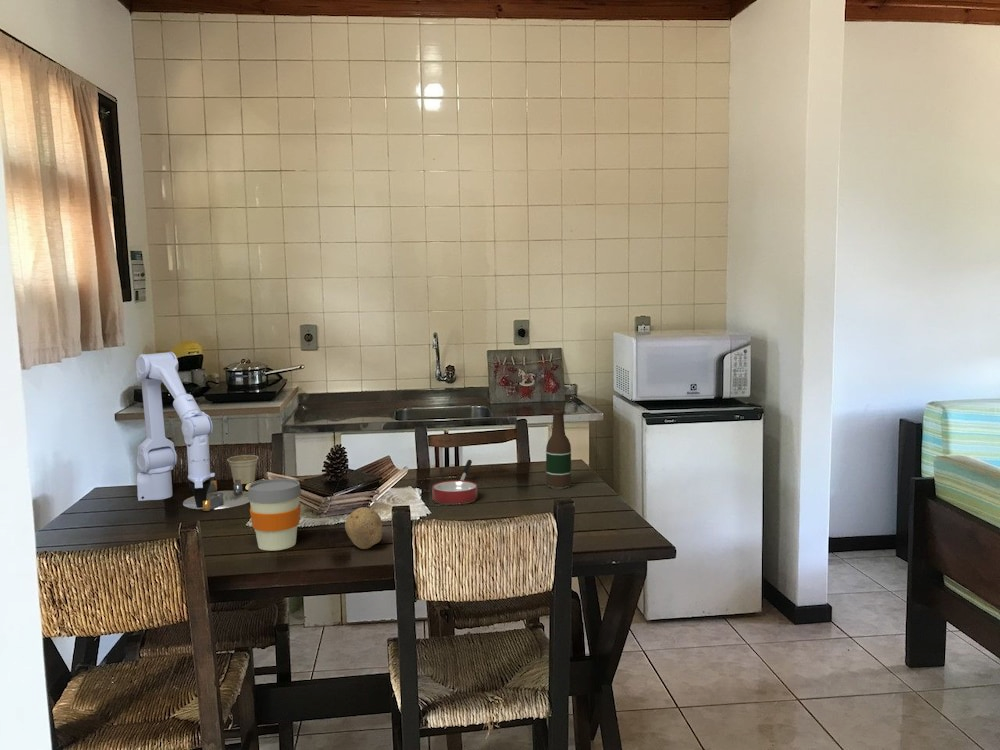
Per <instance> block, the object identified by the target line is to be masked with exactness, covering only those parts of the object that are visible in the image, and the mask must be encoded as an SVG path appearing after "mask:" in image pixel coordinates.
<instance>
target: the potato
mask: <svg viewBox="0 0 1000 750" xmlns="http://www.w3.org/2000/svg"><path fill="white" fill-rule="evenodd" d="M344 529H345V532H346V534H347V536H348V538H349V539H350V541H351V542H352V544H354V546H356V547H357V548H359V549H360V550H368V549H371V548H372V547H373V546H374V545H376V544H378V543H379V542H381V539H382V537H383V522H382V518H381V516H380V514H378V512H376V511H375V510H374V509H371V508H369V507H366V506H364V507H363V506H362V507H361V506H360V507H358V508H356V509H354V510H353V511H352V512H351V513H350V514H349V515H347V518H346V520H345V523H344Z"/></svg>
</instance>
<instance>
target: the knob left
mask: <svg viewBox="0 0 1000 750" xmlns="http://www.w3.org/2000/svg"><path fill="white" fill-rule="evenodd" d="M217 482H218V481H217V480H211V484H210V486H209V488H208V491H207V495H208V494H210V493H212V492H217V491H218V483H217Z"/></svg>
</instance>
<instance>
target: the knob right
mask: <svg viewBox="0 0 1000 750" xmlns="http://www.w3.org/2000/svg"><path fill="white" fill-rule="evenodd" d="M233 491H234V495H242V494H243V492H242V491H243V484H241V479H237V480H234V482H233Z"/></svg>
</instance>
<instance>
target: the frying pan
mask: <svg viewBox="0 0 1000 750" xmlns="http://www.w3.org/2000/svg"><path fill="white" fill-rule="evenodd" d="M472 463H473V460H472V459H468V460H467V461H466V463H465V465H464V469H463V470H462V473H461V477H460V479H454V480H453V479H452V480H450V479H449V480H444V481H439V482H436V483H434V484H432V486H431V488H432V489H431V491H432V494H431V495H432V496H431V497H432V501H433V500H434V501H436V502H440V503H464V502H470V501H473V500H475V499H476V498H477V499H478V483H476V482H474V481H470V480H465V479H466V477H467V475H468V474H469V471H470V469H471V468H470V467H471V465H472ZM434 501H433V502H434Z"/></svg>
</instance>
